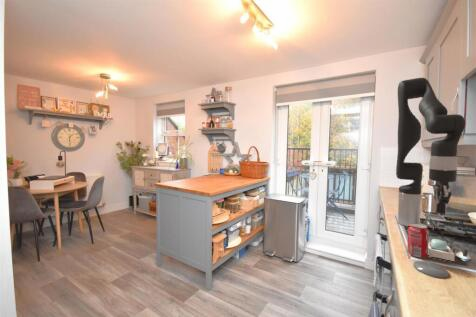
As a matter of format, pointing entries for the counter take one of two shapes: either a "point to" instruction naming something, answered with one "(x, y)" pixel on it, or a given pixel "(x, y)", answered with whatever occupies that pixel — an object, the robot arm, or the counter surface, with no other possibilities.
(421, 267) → the coaster
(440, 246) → the dome
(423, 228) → the beverage can
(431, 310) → the counter surface
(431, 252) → the base
